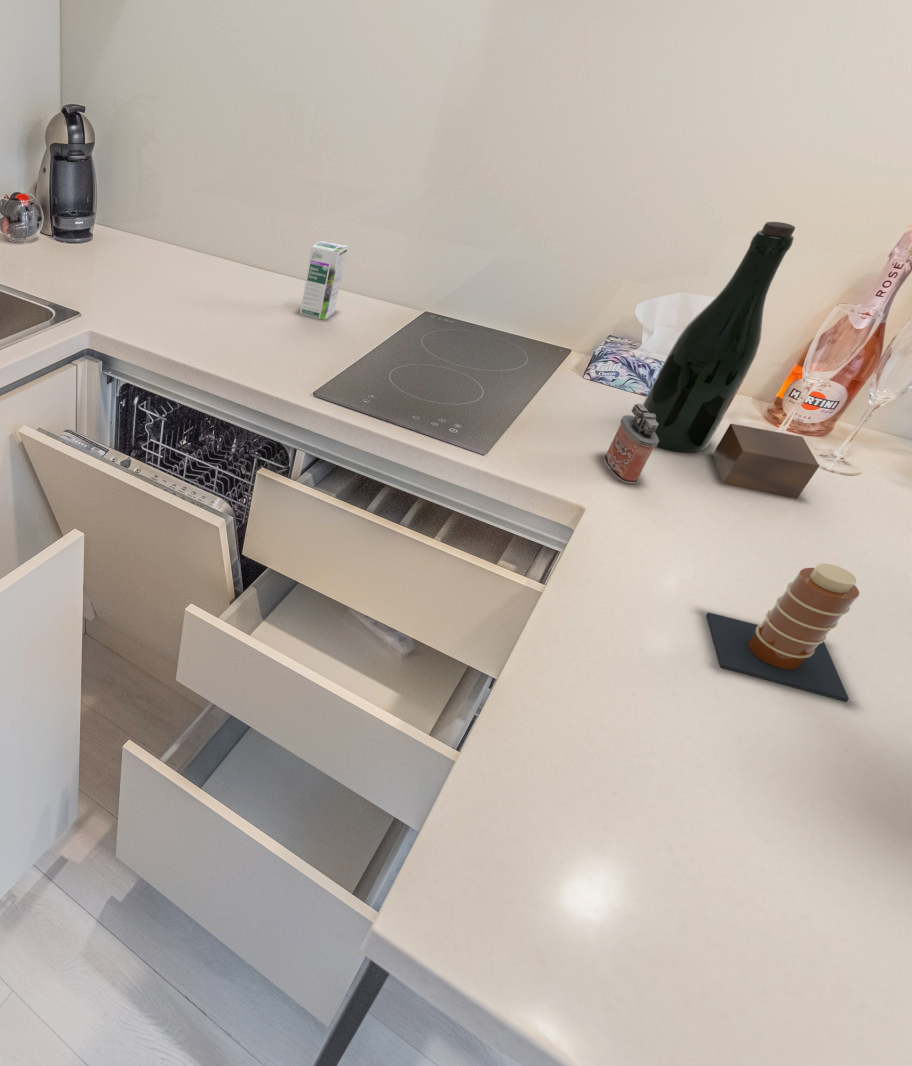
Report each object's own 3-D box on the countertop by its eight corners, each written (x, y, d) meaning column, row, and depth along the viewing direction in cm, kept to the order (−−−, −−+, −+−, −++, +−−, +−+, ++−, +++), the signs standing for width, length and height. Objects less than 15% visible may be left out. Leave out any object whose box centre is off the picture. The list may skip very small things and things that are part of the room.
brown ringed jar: (765, 631, 84) (824, 552, 77) (814, 662, 80) (880, 582, 74) (735, 643, 82) (793, 564, 76) (784, 676, 79) (849, 595, 72)
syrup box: (298, 316, 160) (310, 245, 152) (309, 308, 164) (322, 239, 155) (323, 322, 158) (337, 251, 149) (334, 314, 162) (349, 244, 153)
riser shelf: (779, 471, 114) (802, 436, 110) (795, 502, 107) (819, 465, 103) (710, 457, 116) (730, 423, 113) (721, 486, 110) (742, 450, 106)
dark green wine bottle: (720, 449, 119) (848, 230, 99) (674, 461, 115) (797, 238, 95) (659, 419, 126) (767, 210, 106) (614, 429, 123) (717, 216, 103)
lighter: (641, 488, 109) (673, 427, 103) (616, 486, 109) (647, 425, 103) (620, 460, 115) (649, 400, 109) (596, 457, 116) (624, 398, 110)
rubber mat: (818, 647, 84) (824, 641, 83) (843, 705, 77) (849, 699, 76) (703, 618, 87) (708, 611, 87) (717, 671, 81) (722, 664, 80)
